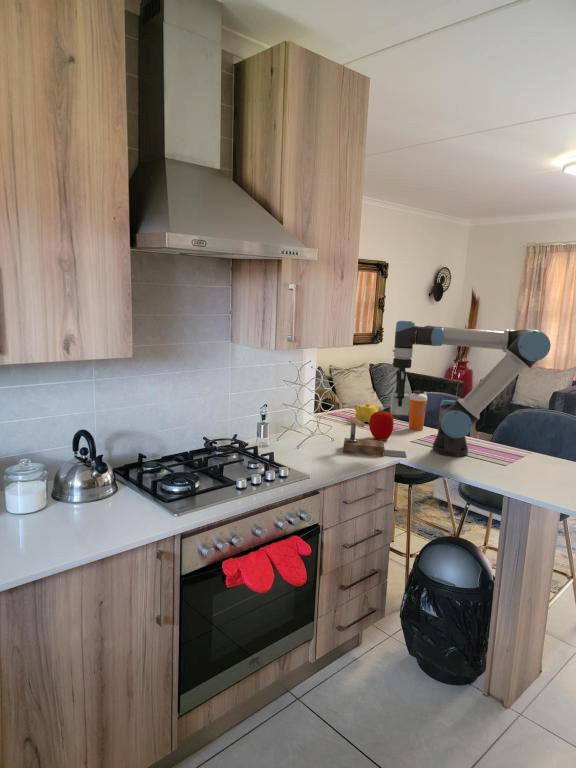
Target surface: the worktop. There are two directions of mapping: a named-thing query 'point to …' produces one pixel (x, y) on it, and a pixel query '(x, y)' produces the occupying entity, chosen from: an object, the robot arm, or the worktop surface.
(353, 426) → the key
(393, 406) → the grey block
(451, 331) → the robot arm
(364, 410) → the teapot
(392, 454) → the mat
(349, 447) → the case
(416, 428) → the shaker bottle
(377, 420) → the tomato
